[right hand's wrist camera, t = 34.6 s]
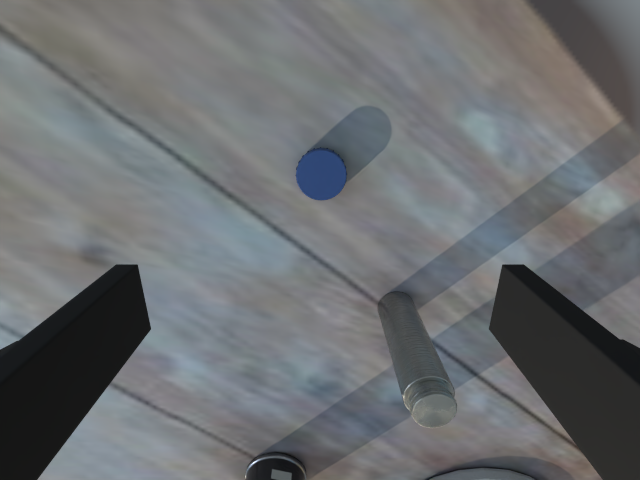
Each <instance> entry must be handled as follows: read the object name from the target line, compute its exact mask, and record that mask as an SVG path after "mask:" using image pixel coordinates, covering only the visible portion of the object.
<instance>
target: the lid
mask: <svg viewBox="0 0 640 480" xmlns="http://www.w3.org/2000/svg"><path fill="white" fill-rule="evenodd" d="M343 162H344V161H343V159H341V158H340V156H339V154H338V155H337V154H336V153H335V152H334V151H331V150H329V149H328V148H327V149H325V148H321V147H320V148H318V149H315V148H314V149H313V150H311V151H308V152H307V153H306V154H305V155H303V156H302V159H301V160H300V161H299V165H298V167H297V168H296V170H297V172H296V178H297V183H298V186H299V187H300V189H301V190H302V192H303V193H304V194H305V195H307V196H308V197H310V198H312V199H315V200H327V199H330V198H333V197H335V196H336V195H337V194H338V193H339V192H340V191H341V190H342V189H343V187H344V185H345V182H346V175H347V173H346V166H345V165H344V163H343Z"/></svg>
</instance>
